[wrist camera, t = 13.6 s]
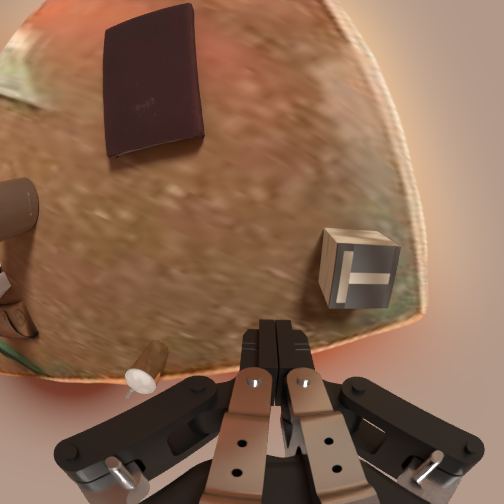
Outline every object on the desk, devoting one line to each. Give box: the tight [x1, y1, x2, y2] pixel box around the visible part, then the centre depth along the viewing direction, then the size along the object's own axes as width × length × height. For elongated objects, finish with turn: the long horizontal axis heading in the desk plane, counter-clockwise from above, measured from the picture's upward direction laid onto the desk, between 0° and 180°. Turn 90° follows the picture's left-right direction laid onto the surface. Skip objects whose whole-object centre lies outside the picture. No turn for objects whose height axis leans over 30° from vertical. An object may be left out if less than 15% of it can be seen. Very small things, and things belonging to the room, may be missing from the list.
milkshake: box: [125, 340, 168, 400], centre depth 34 cm, size 4×5×10 cm
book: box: [103, 3, 205, 158], centre depth 26 cm, size 12×19×3 cm, turn 6°
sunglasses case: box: [0, 301, 38, 339], centre depth 40 cm, size 18×7×7 cm, turn 103°
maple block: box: [318, 228, 401, 309], centre depth 29 cm, size 7×7×7 cm
